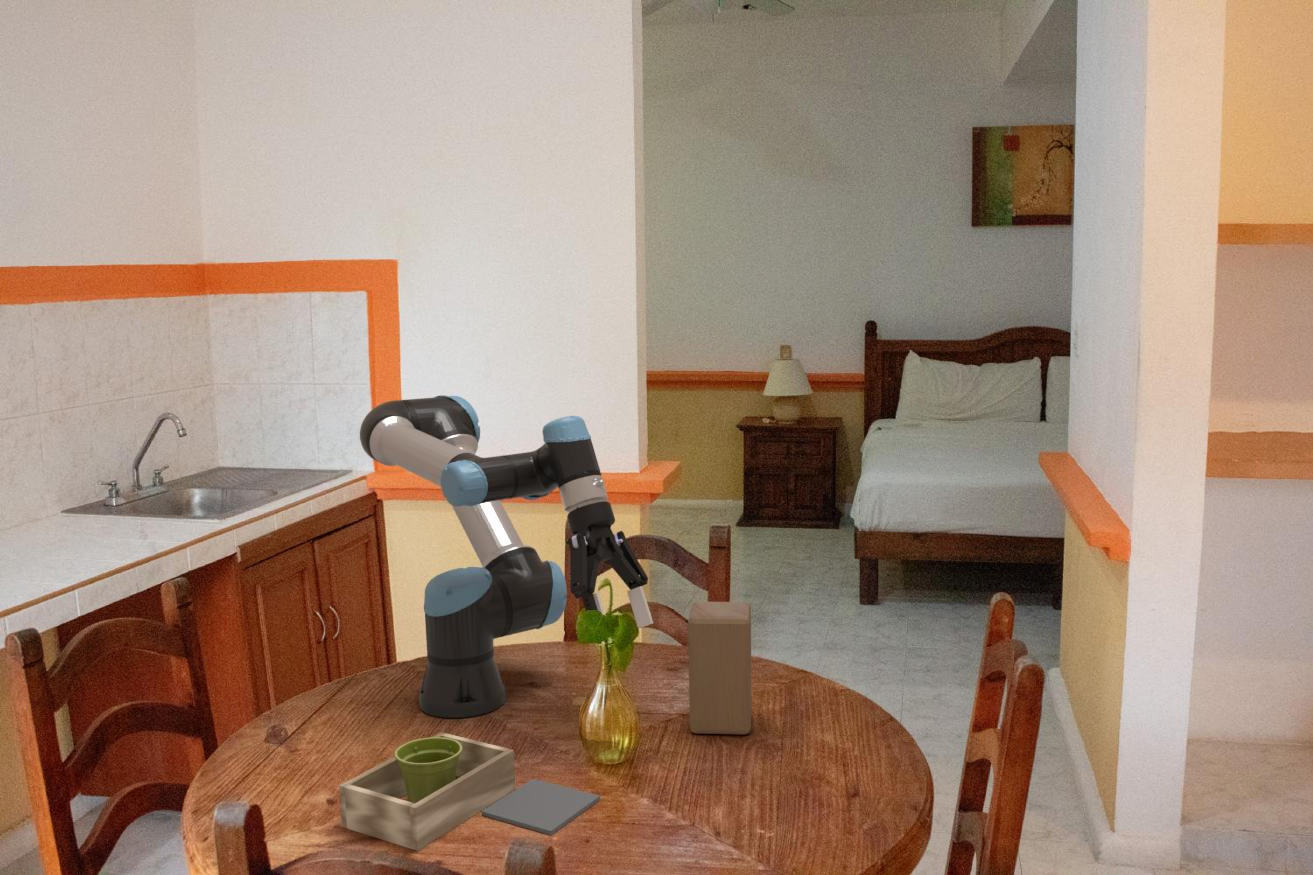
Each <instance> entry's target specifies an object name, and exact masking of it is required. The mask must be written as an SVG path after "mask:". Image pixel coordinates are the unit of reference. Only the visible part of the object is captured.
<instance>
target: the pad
mask: <svg viewBox="0 0 1313 875" xmlns="http://www.w3.org/2000/svg"><path fill="white" fill-rule="evenodd" d="M599 801H601V796H600V795H598V794H594V793H591V792H588V791H583V790H581V789H580V790H579V789H575V788H571V787H567V786H564V785H560V784H556V783H552V782H547V781H544V780H540V779H538V778H532V779H530V780H528V781H527V782H525V783H524V784H522V785H520V786H519V787H517V788H515V789H514V790H513V791H511V792H510V793H508V794H506V795H505V796H503V797H502V798H500V799H499V800H497V801H495V802H494V803H492V804H491V805H489V806H488V807H486V808H484V809H483V810H481V816H483V817H487V818H489V819H493V820H497V821H501V822H504V823H508V824H509V825H511V824H512V825H515V826H518V827H521V828H525V829H527V830H532V831H536V832H538V833H541V834H545V835H549V836H552V835H554V834H555V833H556V832H558V831H559V830H560V829H561V828H564V827H565V826H566V825H567V824H569V823H570V822H571V821H573V820H574V819H575V818H577V817H578V816H580V815H581V814H583V813H584V812H586V811H587V810H588V809H590V808H592V806H593V805H595V804H596V803H598V802H599Z"/></svg>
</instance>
